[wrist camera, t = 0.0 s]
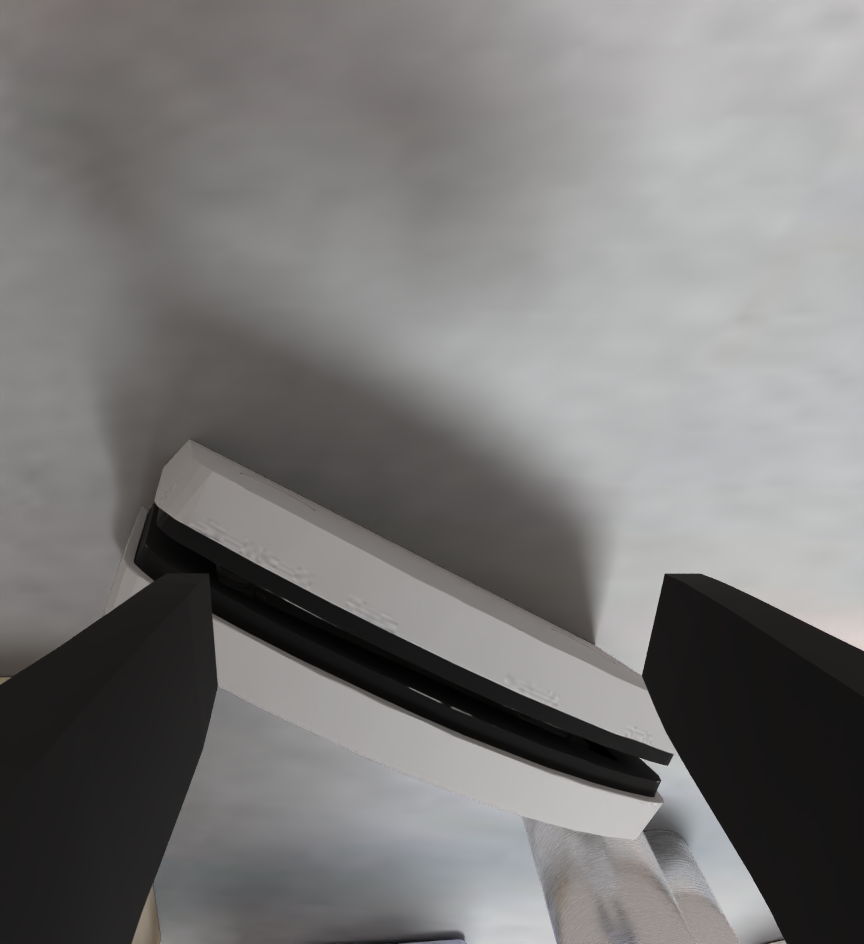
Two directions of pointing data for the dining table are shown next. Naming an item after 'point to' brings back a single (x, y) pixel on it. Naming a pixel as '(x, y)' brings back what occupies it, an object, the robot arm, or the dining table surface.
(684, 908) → the short pin
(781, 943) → the vase
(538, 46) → the dining table surface
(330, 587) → the white slotted housing
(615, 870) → the tall pin
